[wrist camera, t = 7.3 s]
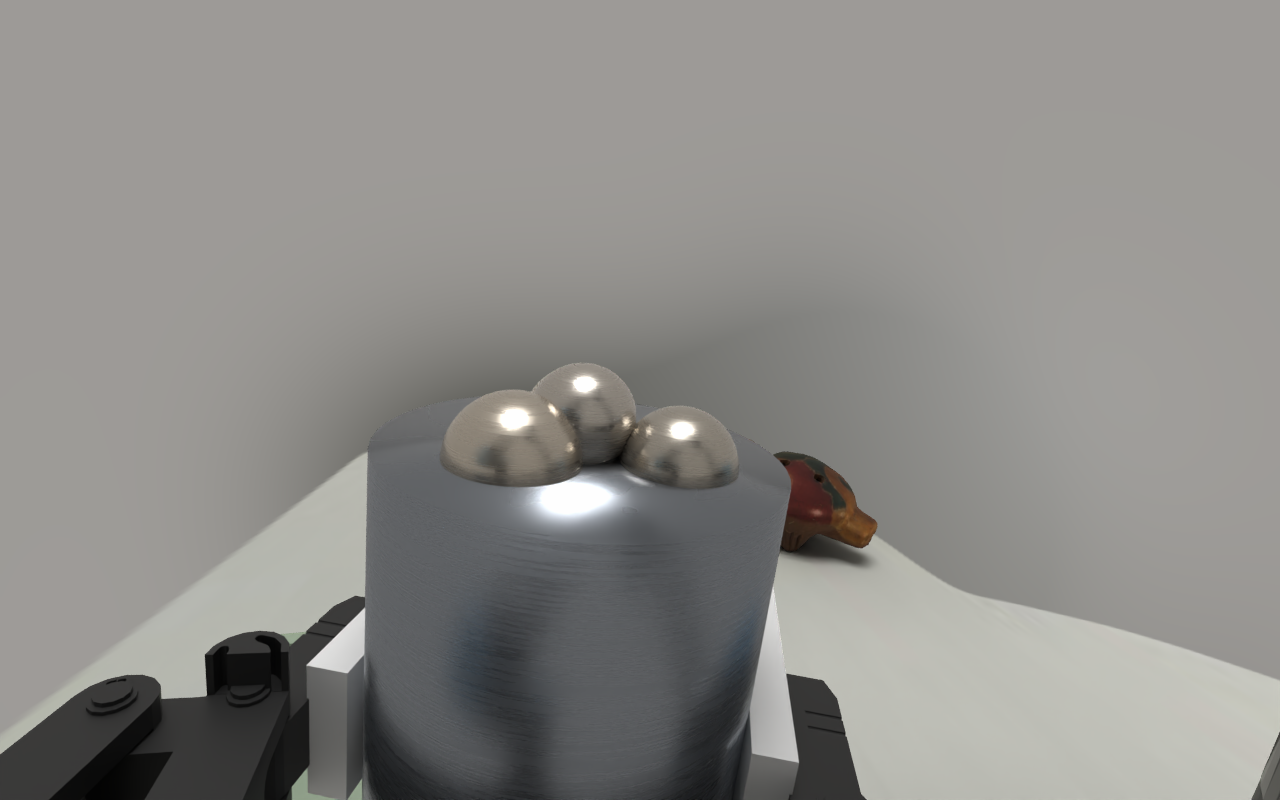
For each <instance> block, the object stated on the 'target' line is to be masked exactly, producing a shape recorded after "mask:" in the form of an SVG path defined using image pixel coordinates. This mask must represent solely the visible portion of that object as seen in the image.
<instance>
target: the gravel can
mask: <svg viewBox="0 0 1280 800" xmlns="http://www.w3.org/2000/svg"><path fill="white" fill-rule="evenodd" d="M790 492H791V479H790V477H789V474H788V472H787V470H786V469H785V467H784V466H783V465H782V463H781V462H780V461H779V460H778V459H777V458H776V457H775V456H773V455H772V454H771V453H770V452H769V451H767V450H766V449H764V448H763V447H761V446H760V445H758V444H757V443H755V442H753V441H751V440H749V439H748V438H746V437H744V436H742V435H739V434H737V433H735V432H733V431H731V430H728V429H726V428H725V427H724V426H723V425H722V424H721V423H720V422H719V421H718V420H717V419H716V418H714V417H713V416H711V415H710V414H708V413H706V412H704V411H702V410H699V409H697V408H693V407H688V406H670V407H665V408H661V409H659V408H654V407H649V406H645V405H639V404H635V402H634V399H633V396H632V394H631V392H630V390H629V388H628V387H627V386H626V384H625V383H624V382H623V381H622V379H620V377H618V376H617V375H616V374H615V373H614V372H612V371H610V370H609V369H607V368H605V367H602V366H600V365H596V364H591V363H574V364H569V365H566V366H563V367H561V368H558V369H556V370H554V371H553V372H552V373H550V374H548V375H547V376H545V377H544V378H543V379H542V380H541V381H539V382H538V383H537V385H536V386H535V387H534V388H533V390H532V391H531V392H529V391H523V390H503V391H497V392H493V393H490V394H487V395H484V396H481V397H472V398H463V399H457V400H452V401H445V402H441V403H436V404H432V405H427V406H424V407H421V408H417V409H414V410H411V411H409V412H406V413H404V414H401V415H399V416H397V417H395V418H393V419H391V420H390V421H388V422H386V423H385V424H384V425H382V426H381V427H380V428H379V429H378V430H377V431H376V432H375V433H374V435H373V436H372V437H371V439H370V443H369V446H368V470H367V528H366V586H365V643H364V701H363V759H362V800H733V795H734V790H735V784H736V779H737V774H738V769H739V763H740V758H741V753H742V747H743V742H744V737H745V731H746V726H747V721H748V715H749V710H750V705H751V699H752V694H753V689H754V684H755V678H756V673H757V668H758V662H759V657H760V652H761V646H762V641H763V636H764V630H765V625H766V620H767V614H768V609H769V604H770V599H771V593H772V588H773V583H774V577H775V572H776V567H777V561H778V556H779V551H780V545H781V540H782V535H783V529H784V524H785V519H786V514H787V508H788V503H789V498H790Z"/></svg>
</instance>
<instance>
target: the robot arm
mask: <svg viewBox="0 0 1280 800" xmlns="http://www.w3.org/2000/svg"><path fill="white" fill-rule="evenodd" d="M364 643H365V597H359V596H354V597H352V598H350V599H348V600H346V601H344V602H342V603H340V604H337V605H335V606H334V607H333V608H331V609H330V610H329V611H328V612H327V613H326V614H325V615H324V616H323V617H321V618H320V619H319V621H318V623H315V624H314V625H313V626H312V627H310V628H309V629H308V630H307V631H306V634H303V635H302V636H300V637H299V638H298V639H297V640H296V641H295V642H294V643H293V644H292V645H291V646H289V642H288V641H287V639H286V638H285V637H284V636H282V635H280V634H277V633H275V632H267V631H255V632H247V633H242V634H239V635H236V636H233V637H230V638H227V639H225V640H223V641H222V642H220V643H218V644H216V645H215V646H213V647H212V648H211V649H210V650H209V651H208V652H207V653H206V654H205V666H206V684H207V696H206V697H195V698H174V699H161V686H160V684H159V683H158V682H157V680H156V679H155V678H152V677H148V676H145V675H125V676H120V677H115V678H111V679H107V680H105V681H102V682H100V683H97V684H95V685H92V686H90V687H88V688H87V689H85V690H83V691H82V692H80V693H78V694H77V695H75V696H74V697H73V698H71V699H70V700H69V701H67V702H66V703H65V704H64V705H62V706H61V707H60V708H59V709H57V710H56V711H55V712H54V713H52V714H51V715H50V716H48V717H47V718H46V719H45V720H43V721H42V722H41V723H40V724H38V725H37V726H36V727H35V728H33V729H32V730H31V731H29V732H28V733H27V734H26V735H24V736H23V737H22V738H21V739H19V740H18V741H17V742H16V743H14V744H13V745H12V746H10V747H9V748H8V749H7V750H5V751H4V752H3V753H2V754H0V800H292V786H293V785H294V784H295V782H296V781H297V780H298V779H299V777H300V776H301V775H302V774H303V772H304V771H305V770H306V769H307V772H308V793H311V794H315V795H320V796H324V797H329V798H333V799H338V800H347V799H348V798H349V797H350V795H351V794H352V792H353V791H354V789H355V788H356V786H357V785H358V783H359V782H360V781H361V779H362V759H363V701H364ZM841 719H842V717H841V713H840V709H839V705H838V701H837V698H836V697H835V695H834V694H833V693H832V692H831V690H830V689H829V688H828V686H827V685H826V684H825V682H824V681H823V680H818V679H812V678H807V677H801V676H796V675H791V674H786V670H785V663H784V656H783V649H782V642H781V636H780V629H779V622H778V615H777V608H776V601H775V594H774V588H772V593H771V599H770V604H769V609H768V614H767V620H766V625H765V630H764V636H763V641H762V646H761V652H760V657H759V662H758V668H757V673H756V678H755V684H754V689H753V694H752V699H751V705H750V710H749V715H748V721H747V726H746V731H745V737H744V742H743V747H742V753H741V758H740V763H739V769H738V774H737V779H736V784H735V790H734V795H733V800H866V799H865V798H864V797H863V796H862V795H861V792H860V788H859V784H858V780H857V776H856V772H855V768H854V764H853V760H852V756H851V752H850V748H849V744H848V741H847V737H845V729H844V725H843V721H842V720H841ZM1252 800H1280V733H1279V735H1278V738H1277V740H1276V742H1275V745H1274V747H1273V749H1272V752H1271V754H1270V756H1269V759H1268V761H1267V763H1266V766H1265V768H1264V771H1263V773H1262V775H1261V779H1260V781H1259V784H1258V786H1257V788H1256V790H1255V793H1254V795H1253V797H1252Z"/></svg>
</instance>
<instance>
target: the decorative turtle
mask: <svg viewBox="0 0 1280 800" xmlns="http://www.w3.org/2000/svg"><path fill="white" fill-rule="evenodd" d="M749 440H750V439H749ZM751 441H752V440H751ZM753 442H754V441H753ZM773 456H775V457H776V458H777V459H778V460H779V461H780V462H781V463H782V465H783V466H784V467H785V469H786V470H787V472H788V474H789V477H790V479H791V492H790V498H789V503H788V508H787V514H786V519H785V524H784V529H783V535H782V540H781V546H782V547H783V549H784V550H786V551H790V552H792V551H795V550H797V549H798V548H800V547H801V546H802V545H803V544H804V543H805V542H806V541H807V540H808V539H809V538H810V537H812V536H813V535H816V534H822V535H824V536H827V537H829V538H832V539H835V540H838V541H840V542H843V543H845V544H848V545H851V546H853V547H856V548H863V547H865V546H866V545H868V544H869V542H870V541H871V538H872V536H873V534H874V533H875V532H876V529H877V522H876V521H875V520H874V519H872V518H871V517H870V516H868V515H867V514H865V513H863V512H862V511H861V510H860V509H859V508H858V507H857V504H856V500H855V496H854V493H853V491H852V489H851V488H850V486H849V484H848V483H847V482H846V481H845V480H844V478H843V477H842V476H841V475H840V474H838V473H837V472H836V471H834V470H833V469H831V468H830V467H828V466H827V465H826V464H824V463H823V462H821V461H819V460H817V459H815V458H813V457H811V456H807V455H804V454H799V453H793V452H780V453H776V454H774V455H773Z"/></svg>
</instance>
